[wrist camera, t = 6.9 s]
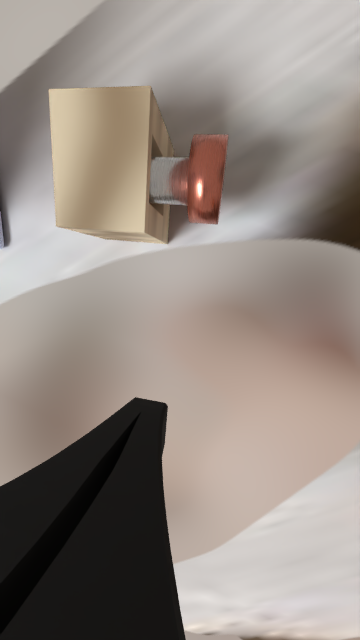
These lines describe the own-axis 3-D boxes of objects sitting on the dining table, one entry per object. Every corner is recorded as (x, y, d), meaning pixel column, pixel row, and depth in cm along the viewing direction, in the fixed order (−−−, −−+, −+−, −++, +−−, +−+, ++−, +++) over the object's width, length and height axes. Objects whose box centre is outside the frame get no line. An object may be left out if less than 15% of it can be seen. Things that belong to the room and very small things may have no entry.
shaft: (98, 221, 15) (58, 206, 11) (98, 157, 14) (53, 114, 10) (217, 230, 14) (217, 215, 10) (226, 159, 13) (230, 112, 9)
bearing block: (105, 239, 16) (56, 226, 11) (104, 149, 15) (48, 89, 10) (167, 243, 16) (144, 232, 11) (173, 150, 14) (150, 86, 9)
